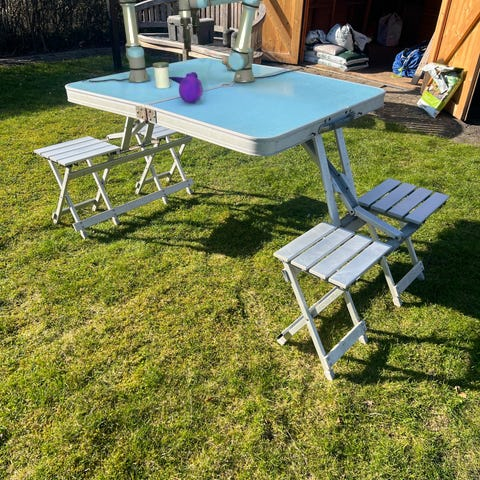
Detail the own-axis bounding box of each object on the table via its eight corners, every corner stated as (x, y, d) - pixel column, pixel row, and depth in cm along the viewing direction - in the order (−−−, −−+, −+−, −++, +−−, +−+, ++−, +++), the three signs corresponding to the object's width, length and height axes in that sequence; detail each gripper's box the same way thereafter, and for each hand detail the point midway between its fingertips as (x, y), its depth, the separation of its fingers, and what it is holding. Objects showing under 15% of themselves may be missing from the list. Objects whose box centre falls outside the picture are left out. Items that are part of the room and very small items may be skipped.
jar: (167, 84, 326) (165, 62, 318) (171, 87, 318) (169, 64, 310) (154, 86, 322) (151, 63, 314) (158, 88, 314) (155, 66, 307)
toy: (192, 94, 296) (203, 108, 275) (166, 89, 289) (175, 104, 268) (197, 69, 288) (208, 82, 267) (170, 64, 281) (180, 77, 260)
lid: (166, 64, 319) (165, 61, 318) (171, 66, 311) (170, 64, 310) (151, 66, 315) (150, 63, 314) (155, 68, 307) (155, 65, 306)
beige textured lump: (225, 72, 363) (224, 52, 355) (218, 70, 371) (218, 50, 364) (248, 69, 372) (247, 50, 364) (241, 67, 381) (240, 48, 373)
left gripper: (203, 5, 329) (204, 36, 339) (195, 3, 349) (197, 33, 360) (193, 5, 327) (195, 37, 338) (186, 4, 347) (188, 34, 358)
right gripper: (177, 16, 319) (179, 48, 330) (182, 19, 299) (185, 53, 309) (187, 16, 321) (189, 48, 332) (193, 18, 300) (196, 52, 311)
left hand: (196, 35), depth 349 cm, fingers open, 13 cm apart
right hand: (187, 50), depth 321 cm, fingers open, 13 cm apart
